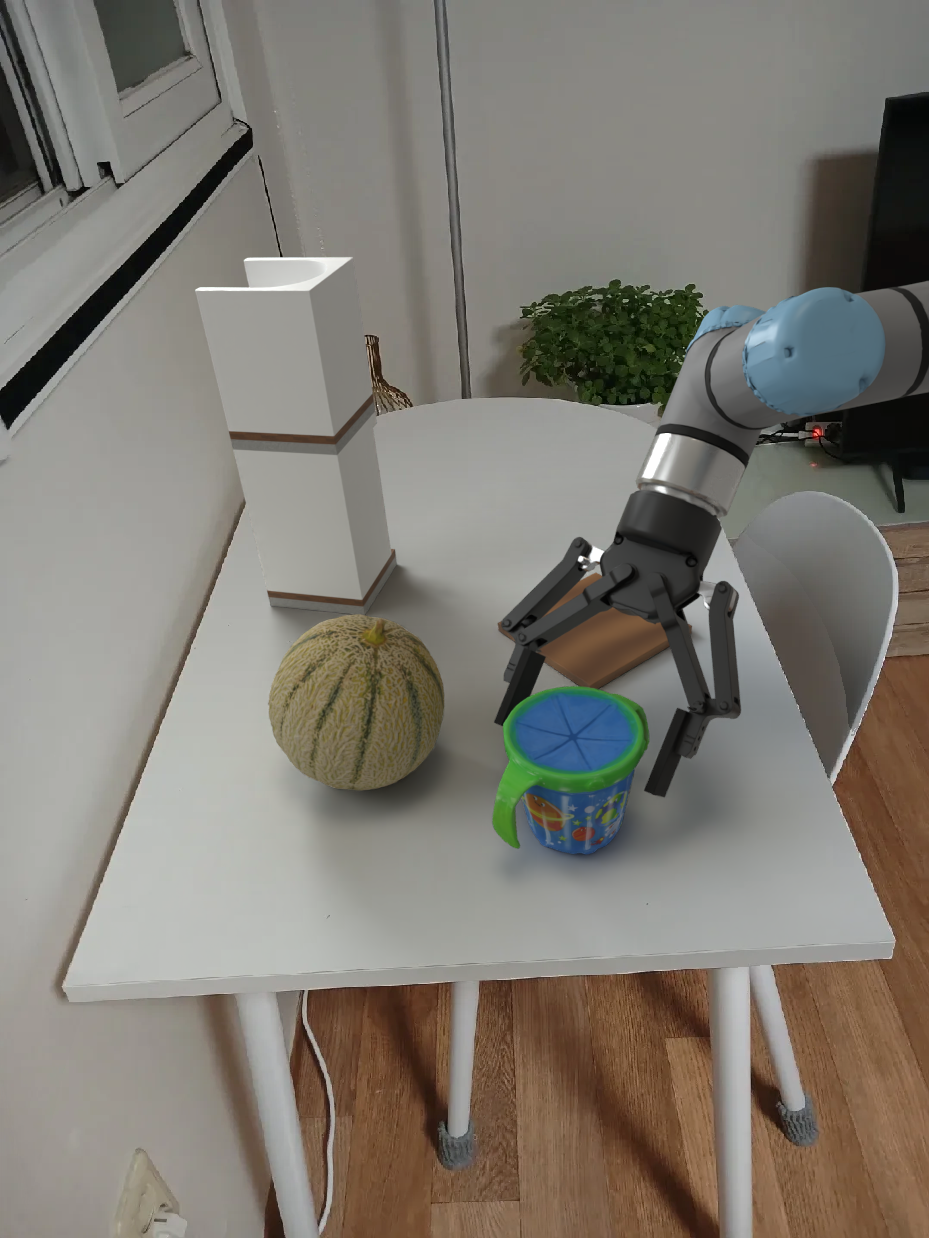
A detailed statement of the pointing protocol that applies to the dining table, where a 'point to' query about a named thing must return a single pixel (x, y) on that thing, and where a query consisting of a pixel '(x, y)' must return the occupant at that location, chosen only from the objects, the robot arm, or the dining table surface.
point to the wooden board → (601, 643)
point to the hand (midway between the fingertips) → (575, 759)
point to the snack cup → (570, 767)
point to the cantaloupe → (357, 702)
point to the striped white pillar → (303, 429)
